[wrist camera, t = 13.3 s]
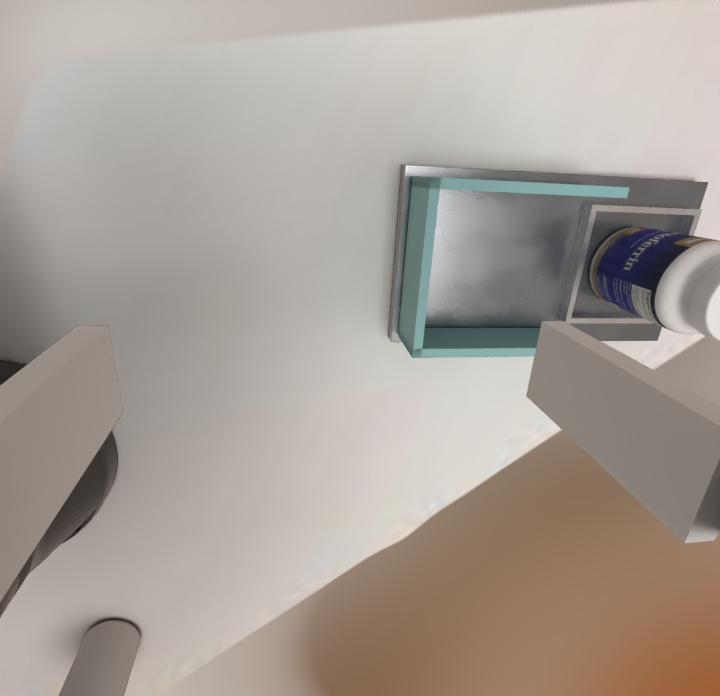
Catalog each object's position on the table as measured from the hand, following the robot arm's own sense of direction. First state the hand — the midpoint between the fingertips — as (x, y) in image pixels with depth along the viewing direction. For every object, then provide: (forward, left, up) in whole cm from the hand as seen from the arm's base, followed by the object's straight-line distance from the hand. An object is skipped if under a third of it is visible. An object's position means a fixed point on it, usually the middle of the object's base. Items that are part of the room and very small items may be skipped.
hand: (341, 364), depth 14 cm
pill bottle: (+23, 0, -17) cm, 29 cm away
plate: (+17, 0, -18) cm, 25 cm away
